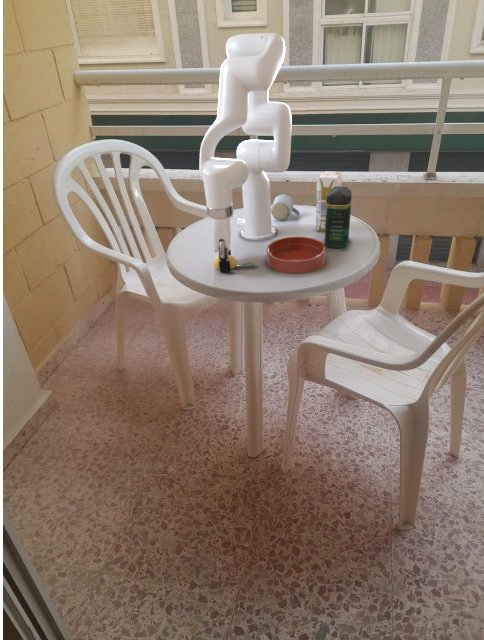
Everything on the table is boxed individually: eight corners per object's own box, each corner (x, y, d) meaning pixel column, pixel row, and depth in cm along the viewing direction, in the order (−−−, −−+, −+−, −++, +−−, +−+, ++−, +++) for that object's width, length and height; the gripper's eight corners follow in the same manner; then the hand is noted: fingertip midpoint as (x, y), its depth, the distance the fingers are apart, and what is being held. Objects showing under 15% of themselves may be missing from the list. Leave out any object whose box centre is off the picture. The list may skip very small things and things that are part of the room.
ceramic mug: (270, 220, 172) (270, 201, 168) (274, 213, 179) (273, 193, 174) (298, 222, 170) (298, 201, 166) (301, 214, 177) (301, 194, 172)
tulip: (214, 272, 140) (212, 259, 138) (215, 265, 144) (213, 253, 142) (255, 270, 140) (254, 257, 137) (255, 263, 144) (254, 250, 141)
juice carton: (314, 231, 162) (315, 177, 151) (320, 222, 168) (322, 170, 157) (335, 233, 159) (337, 178, 148) (340, 224, 166) (343, 171, 155)
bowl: (256, 268, 141) (255, 255, 138) (283, 245, 154) (282, 233, 151) (310, 279, 133) (311, 266, 130) (334, 254, 146) (334, 241, 143)
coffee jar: (347, 251, 147) (351, 194, 137) (322, 249, 149) (324, 193, 138) (349, 238, 155) (353, 184, 144) (326, 237, 157) (328, 183, 146)
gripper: (209, 201, 138) (215, 255, 149) (204, 222, 124) (212, 280, 135) (234, 200, 138) (238, 254, 149) (232, 221, 124) (237, 279, 134)
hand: (225, 266), depth 142 cm, fingers open, 6 cm apart
